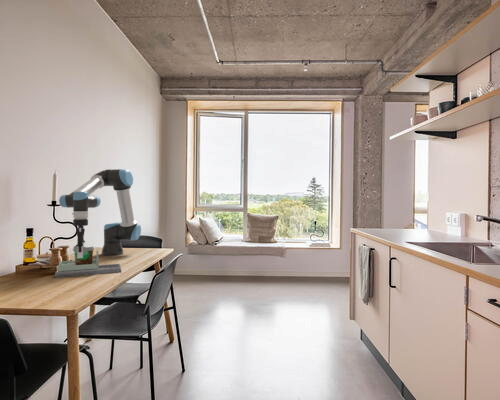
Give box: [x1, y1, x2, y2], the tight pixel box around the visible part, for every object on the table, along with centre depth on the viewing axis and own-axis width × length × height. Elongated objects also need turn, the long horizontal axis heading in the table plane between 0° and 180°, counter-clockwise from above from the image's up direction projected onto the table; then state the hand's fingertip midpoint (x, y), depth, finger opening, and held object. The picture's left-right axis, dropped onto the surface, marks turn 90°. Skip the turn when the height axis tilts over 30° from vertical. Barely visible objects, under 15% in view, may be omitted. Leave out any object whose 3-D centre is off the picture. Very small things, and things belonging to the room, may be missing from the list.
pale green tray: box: [56, 246, 99, 272], centre depth 192 cm, size 16×20×10 cm
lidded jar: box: [36, 251, 52, 262], centre depth 204 cm, size 11×11×9 cm
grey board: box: [54, 263, 122, 279], centre depth 195 cm, size 18×33×2 cm, turn 114°
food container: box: [72, 245, 95, 265], centre depth 192 cm, size 12×6×10 cm, turn 76°
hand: (80, 256), depth 193 cm, fingers open, 13 cm apart
